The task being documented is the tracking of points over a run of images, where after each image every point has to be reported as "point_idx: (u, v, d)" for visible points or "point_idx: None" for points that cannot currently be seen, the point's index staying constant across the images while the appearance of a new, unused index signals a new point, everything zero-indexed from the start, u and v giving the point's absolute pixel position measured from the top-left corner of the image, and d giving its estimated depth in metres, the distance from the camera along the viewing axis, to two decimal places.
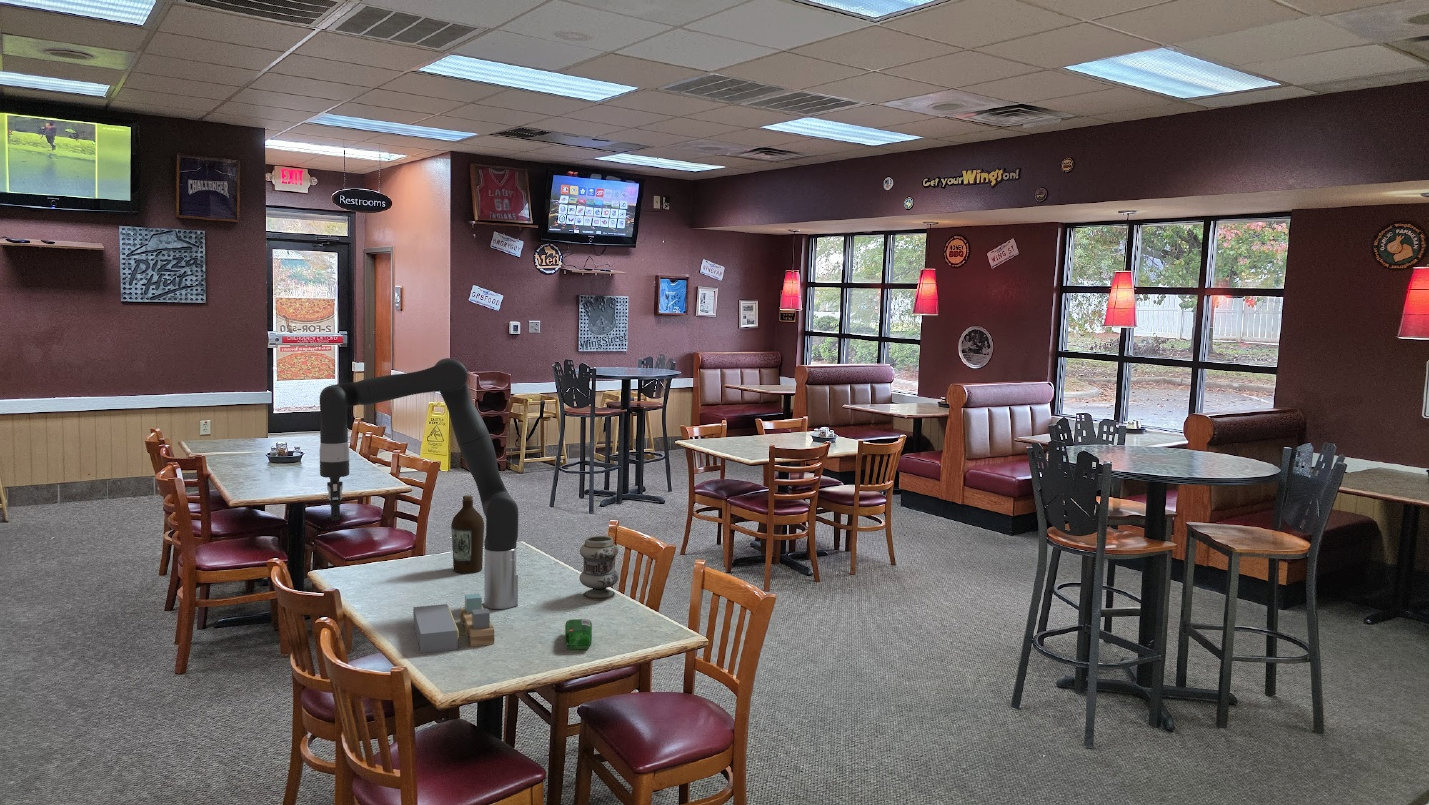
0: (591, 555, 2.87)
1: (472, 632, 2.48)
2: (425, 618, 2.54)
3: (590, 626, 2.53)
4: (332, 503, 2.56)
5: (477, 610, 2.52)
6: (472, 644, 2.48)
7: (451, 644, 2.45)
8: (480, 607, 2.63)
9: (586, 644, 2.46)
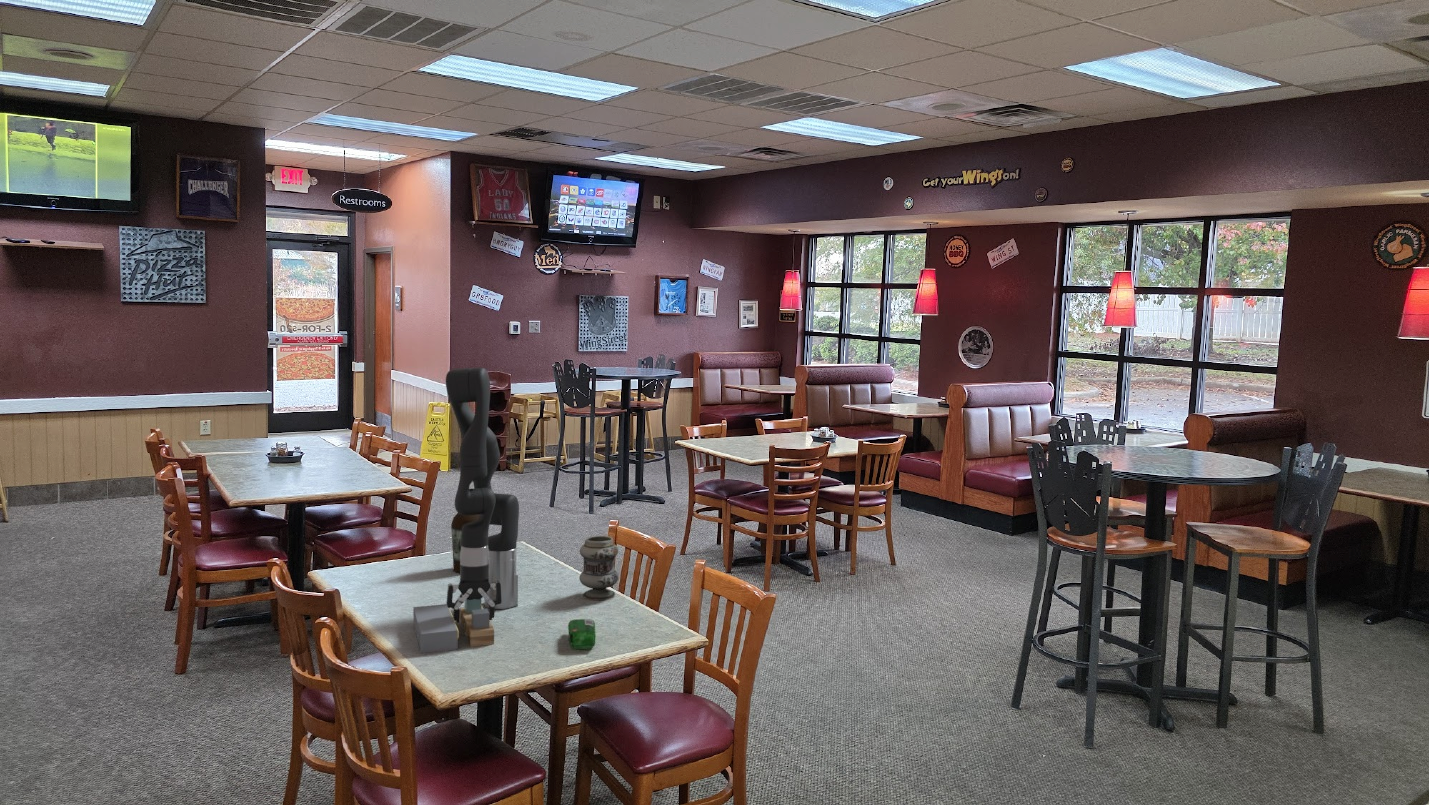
0: (591, 555, 2.87)
1: (472, 632, 2.48)
2: (425, 618, 2.54)
3: (593, 626, 2.53)
4: None
5: (477, 610, 2.52)
6: (472, 644, 2.48)
7: (451, 644, 2.45)
8: (480, 607, 2.63)
9: (590, 644, 2.46)
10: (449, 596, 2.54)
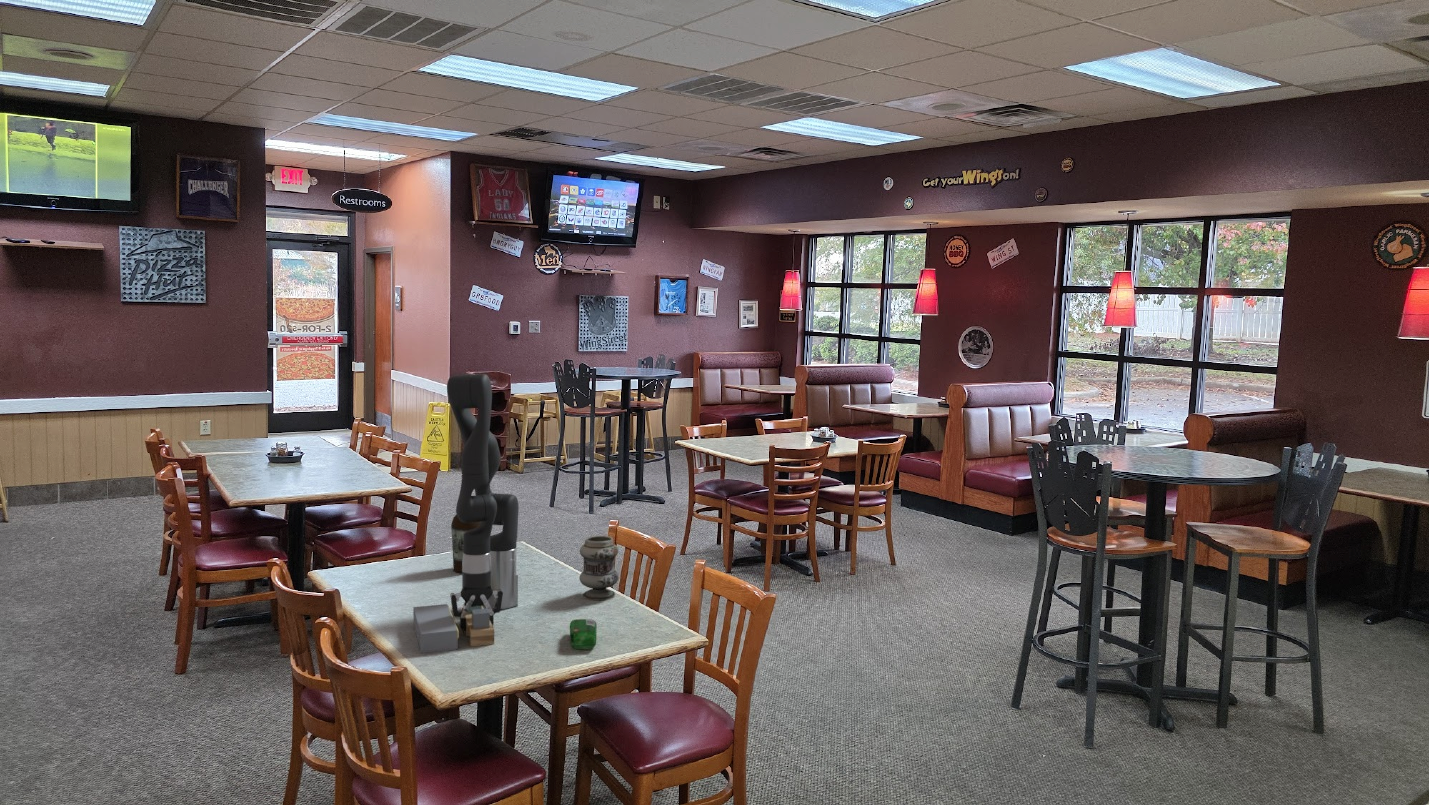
0: (591, 555, 2.87)
1: (472, 632, 2.48)
2: (425, 618, 2.54)
3: (595, 626, 2.53)
4: None
5: (477, 610, 2.52)
6: (472, 644, 2.48)
7: (451, 644, 2.45)
8: (480, 607, 2.63)
9: (591, 644, 2.46)
10: (454, 605, 2.54)
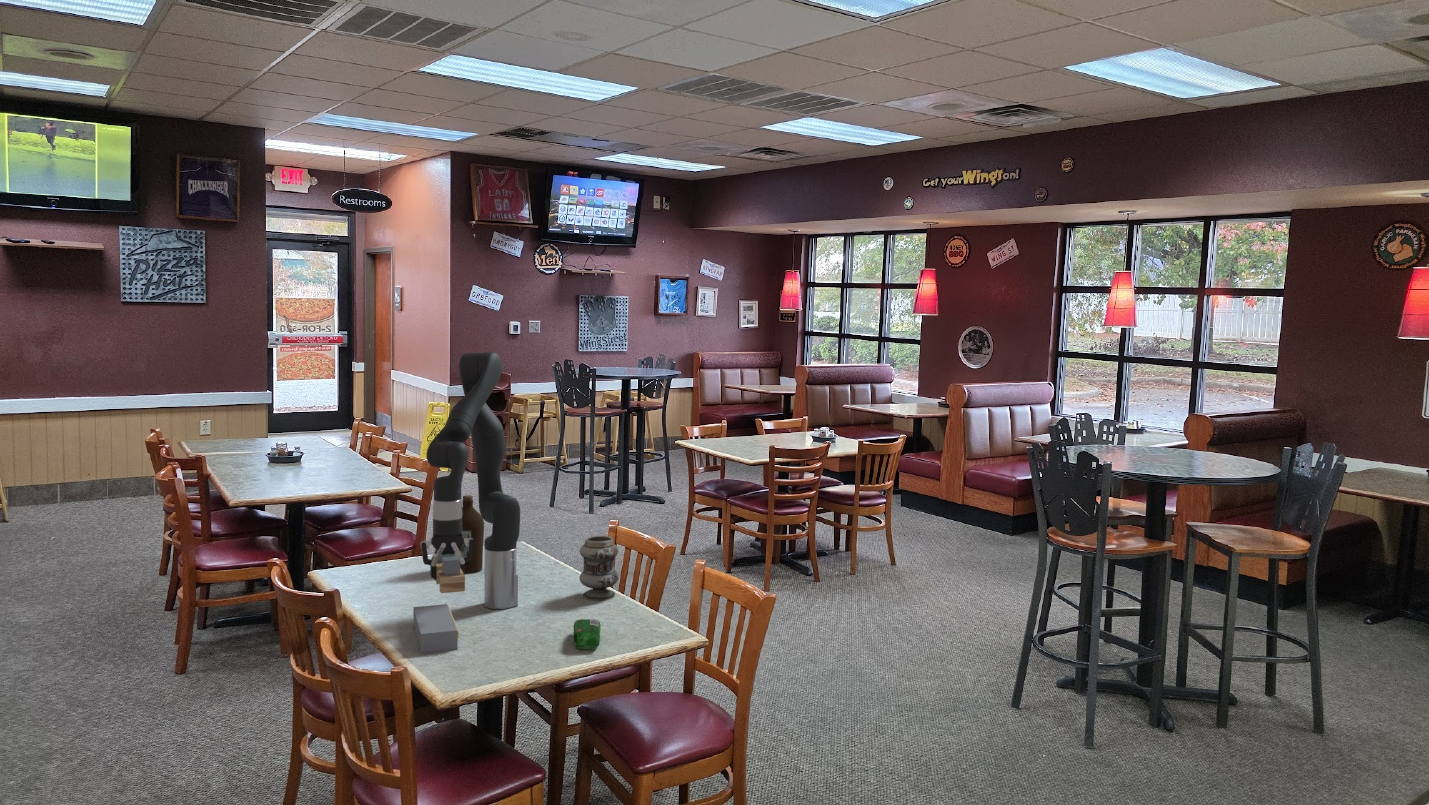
0: (591, 555, 2.87)
1: (442, 578, 2.43)
2: (425, 618, 2.54)
3: (598, 626, 2.53)
4: None
5: (448, 557, 2.48)
6: (442, 591, 2.44)
7: (451, 644, 2.45)
8: None
9: (594, 644, 2.46)
10: (424, 553, 2.50)
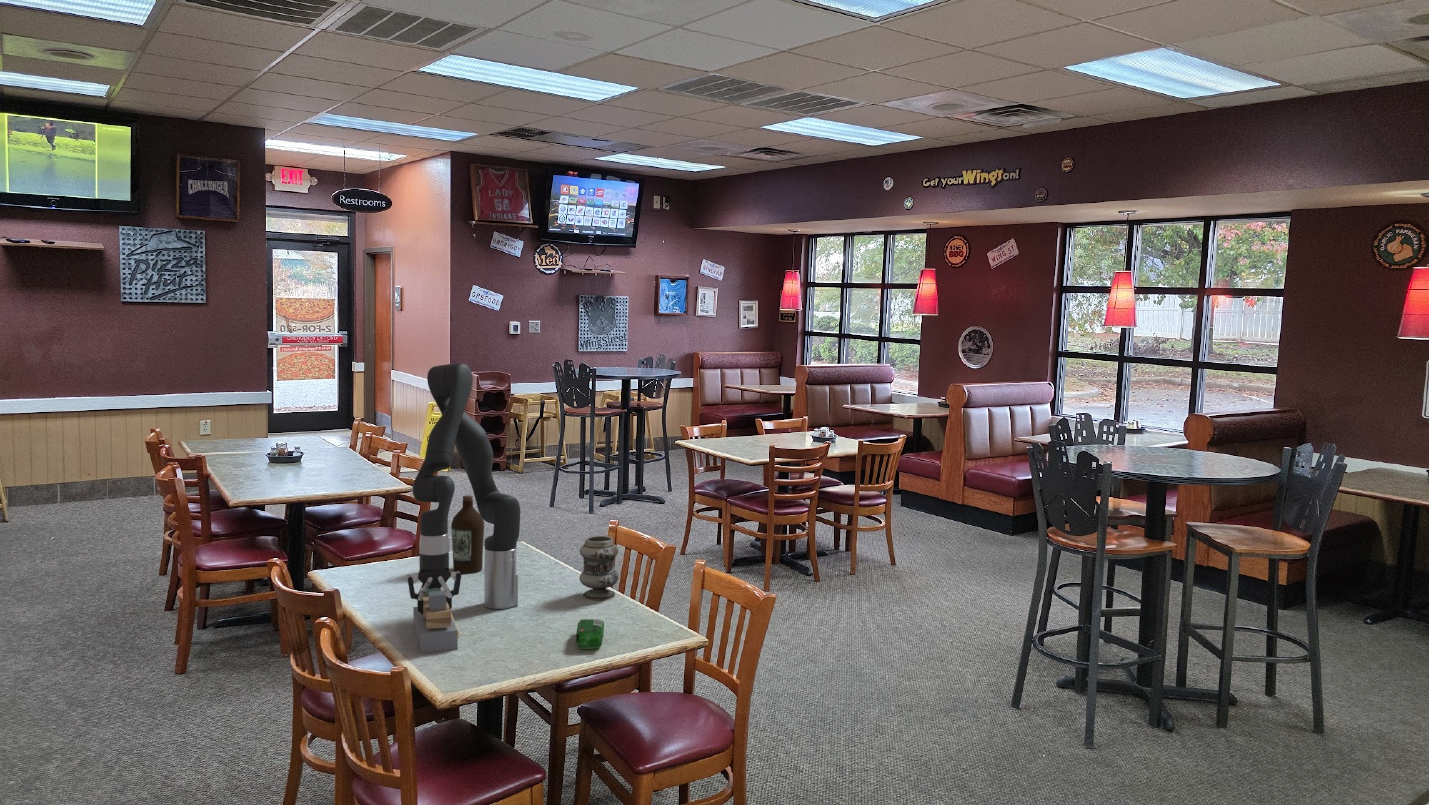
0: (591, 555, 2.87)
1: (428, 614, 2.43)
2: (425, 618, 2.54)
3: (601, 626, 2.53)
4: None
5: (434, 592, 2.48)
6: (428, 626, 2.43)
7: (451, 644, 2.45)
8: (439, 589, 2.59)
9: (596, 644, 2.46)
10: (410, 587, 2.50)
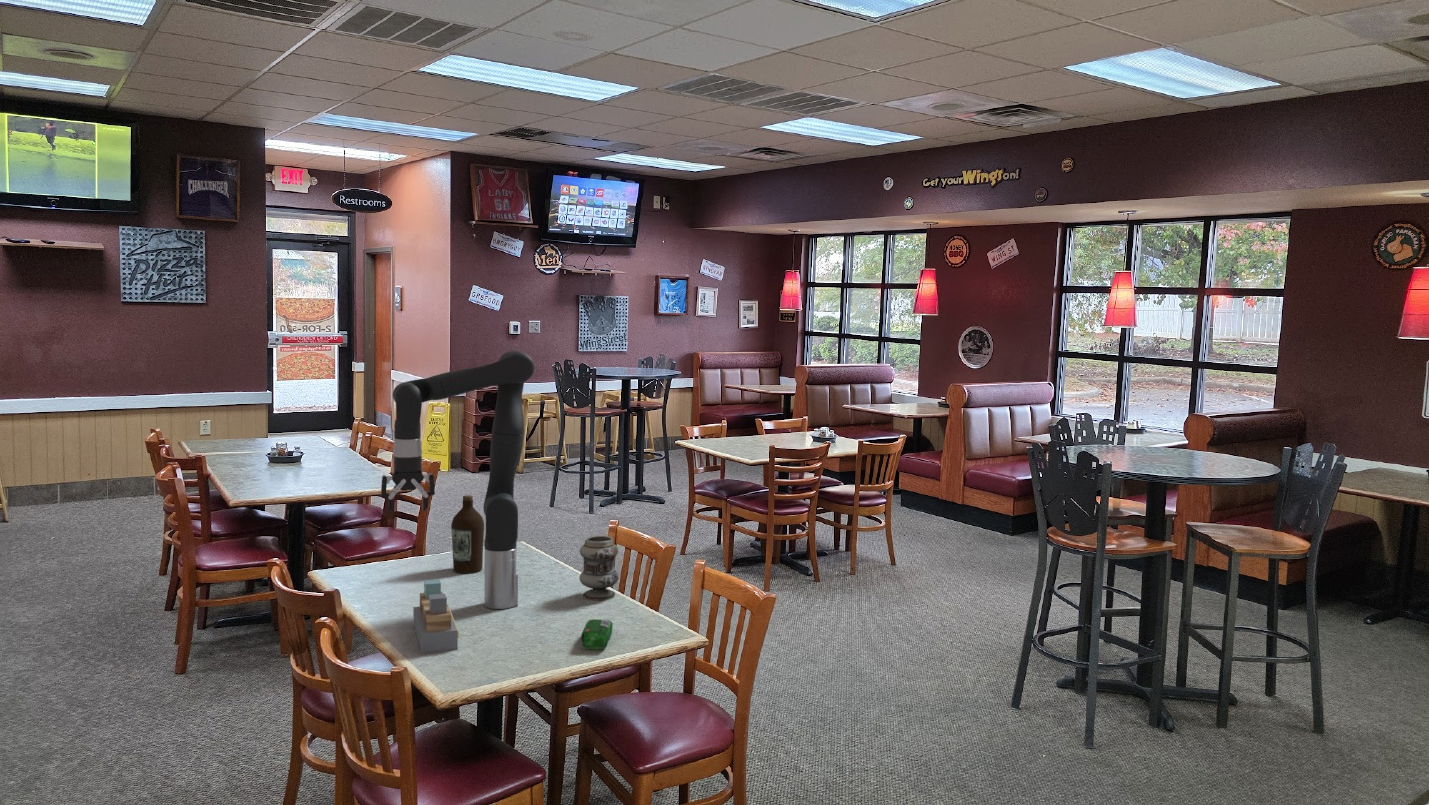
0: (591, 555, 2.87)
1: (428, 617, 2.43)
2: None
3: (608, 627, 2.52)
4: None
5: (435, 595, 2.48)
6: (428, 629, 2.43)
7: (451, 644, 2.45)
8: (439, 593, 2.59)
9: (600, 645, 2.45)
10: (383, 486, 2.64)
